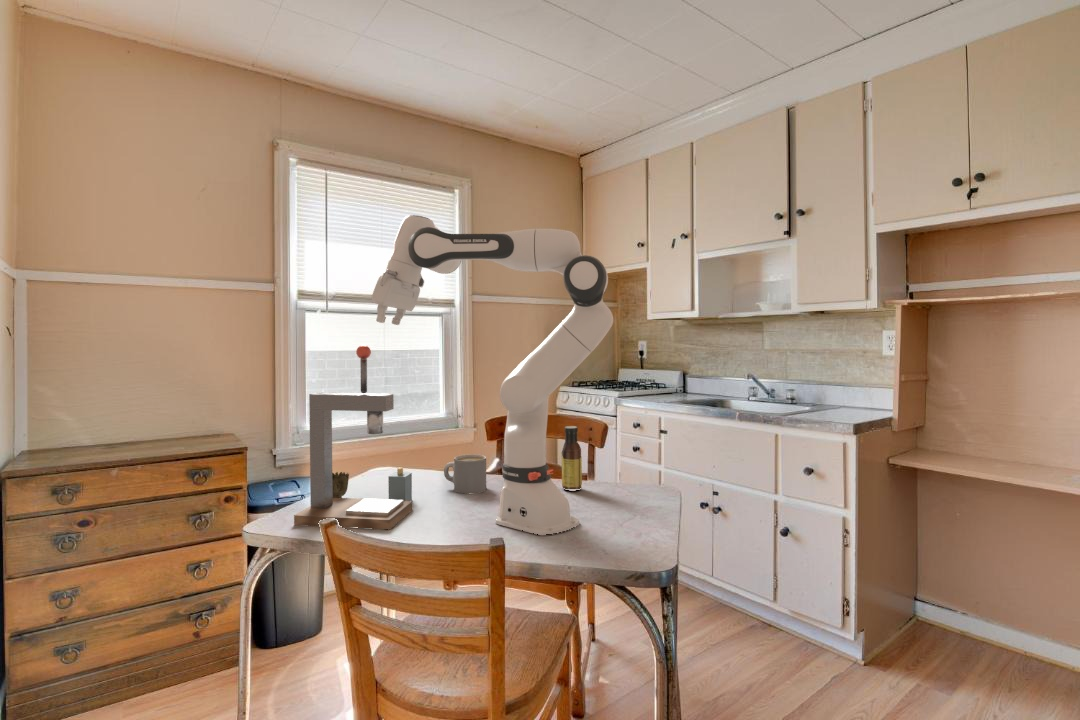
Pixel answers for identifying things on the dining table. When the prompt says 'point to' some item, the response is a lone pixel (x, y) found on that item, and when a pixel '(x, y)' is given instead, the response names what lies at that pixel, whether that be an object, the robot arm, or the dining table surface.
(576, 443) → the sauce bottle
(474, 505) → the dining table surface
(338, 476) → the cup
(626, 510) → the dining table surface
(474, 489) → the coffee mug
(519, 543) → the dining table surface
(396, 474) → the housing
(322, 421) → the press frame
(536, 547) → the dining table surface
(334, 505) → the press base
